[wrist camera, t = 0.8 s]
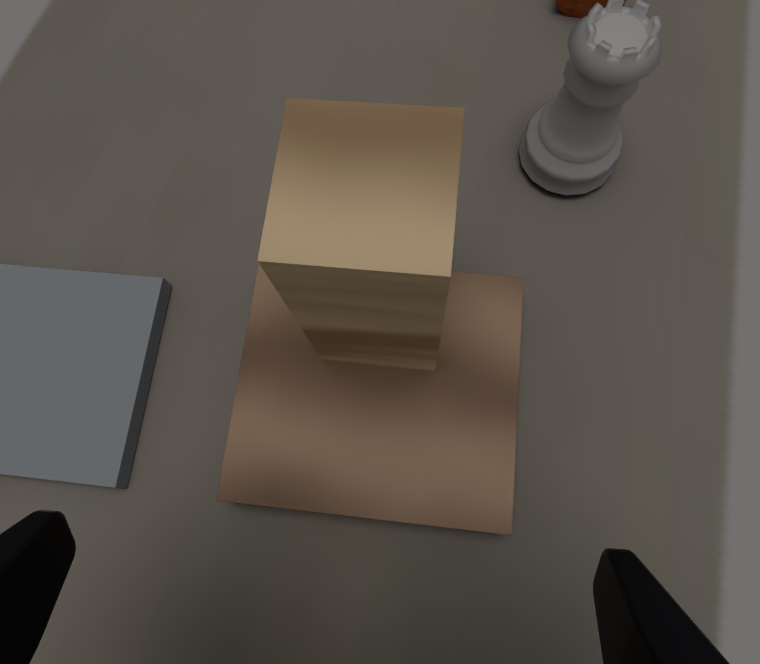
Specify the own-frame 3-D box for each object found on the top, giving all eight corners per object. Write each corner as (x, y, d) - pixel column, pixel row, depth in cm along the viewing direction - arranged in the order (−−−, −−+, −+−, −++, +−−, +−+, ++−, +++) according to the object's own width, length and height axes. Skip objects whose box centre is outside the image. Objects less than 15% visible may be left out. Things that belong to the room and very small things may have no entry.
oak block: (435, 371, 23) (450, 276, 13) (322, 360, 23) (257, 260, 14) (444, 265, 24) (464, 107, 14) (336, 256, 24) (286, 97, 15)
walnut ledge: (503, 532, 23) (511, 534, 21) (231, 500, 24) (216, 500, 22) (515, 294, 26) (523, 277, 24) (271, 273, 26) (260, 255, 25)
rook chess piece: (497, 153, 28) (529, 19, 20) (566, 101, 28) (624, -48, 21) (563, 218, 26) (623, 103, 19) (633, 163, 27) (721, 29, 19)
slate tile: (126, 488, 24) (115, 487, 23) (-74, 464, 25) (-93, 463, 24) (171, 285, 27) (162, 277, 26) (-12, 270, 27) (-28, 261, 26)
